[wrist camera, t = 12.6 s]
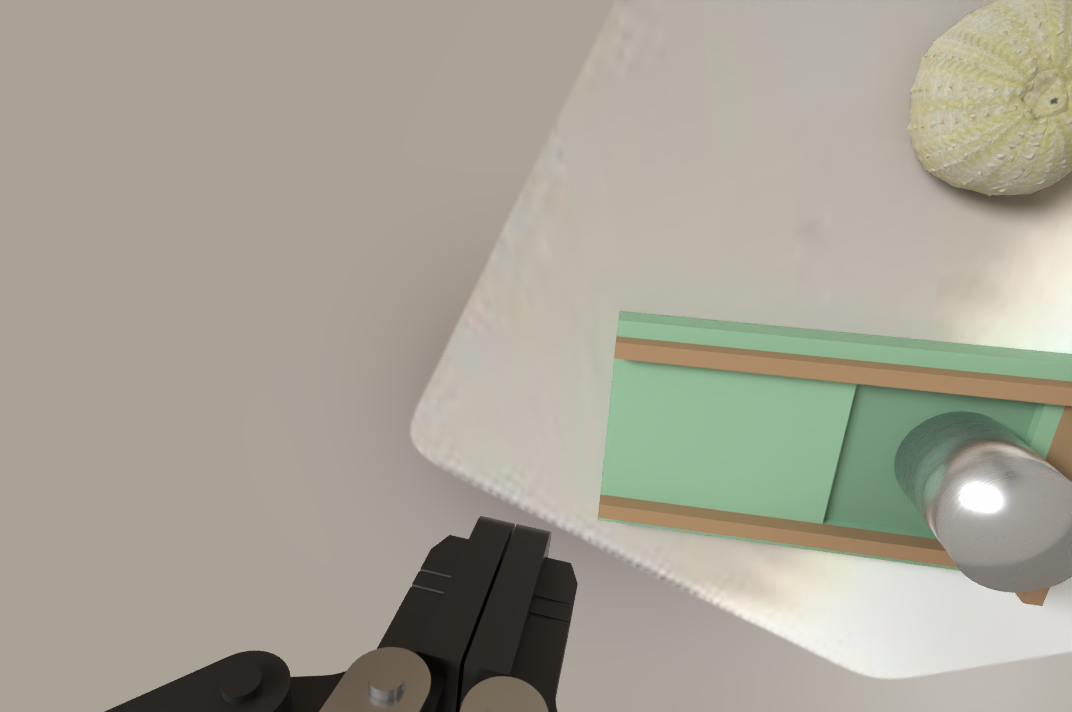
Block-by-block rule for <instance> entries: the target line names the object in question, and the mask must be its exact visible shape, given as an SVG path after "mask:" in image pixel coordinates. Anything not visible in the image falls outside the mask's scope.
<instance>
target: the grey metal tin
mask: <svg viewBox="0 0 1072 712" xmlns="http://www.w3.org/2000/svg"><path fill="white" fill-rule="evenodd" d="M894 471H895V476H896V479H897V482H898V484H899V486H900V487H901V489H902V490H903V491H904V493H905V494H906V496H907V497H908V498H909V500H910V501H911V503H912V504H913V505H914V507H915V508H916V510H917V511H918V512H919V514H920V515H921V516H922V518H923V519H924V521H925V522H926V523H927V525H928V526H929V528H930V529H931V530H932V532H933V533H934V535H935V536H936V537H937V539H938V540H939V542H940V543H941V544H942V546H943V547H944V549H945V550H946V551H947V553H948V554H949V556H950V557H951V558H952V560H953V561H954V562H955V564H956V565H957V567H958V568H959V569H960V570H961V571H962V572H963V573H964V574H965V575H966V576H967V577H968V578H970V579H971V580H972V581H974V582H976V583H978V584H980V585H982V586H985V587H987V588H990V589H994V590H998V591H1004V592H1029V591H1036V590H1041V589H1045V588H1048V587H1051V586H1054V585H1056V584H1059V583H1061V582H1063V581H1065V580H1067V579H1068V578H1070V577H1072V482H1071V481H1070V480H1069V479H1067V478H1066V477H1065V476H1064V475H1062V474H1061V473H1060V472H1059V471H1058V470H1056V469H1055V468H1054V467H1053V466H1052V465H1050V464H1049V463H1048V462H1047V461H1045V460H1044V459H1043V458H1042V457H1041V456H1039V455H1038V454H1037V453H1036V452H1035V451H1033V450H1032V449H1031V448H1030V447H1028V446H1027V445H1026V444H1025V443H1024V442H1022V441H1021V440H1020V439H1019V438H1017V437H1016V436H1015V435H1014V434H1013V433H1011V432H1010V431H1009V430H1008V429H1007V428H1005V427H1004V426H1003V425H1002V424H1000V423H999V422H998V421H996V420H994V419H993V418H991V417H988V416H986V415H983V414H979V413H975V412H964V411H959V412H950V413H944V414H941V415H937V416H935V417H932V418H930V419H928V420H926V421H924V422H922V423H921V424H919V425H918V426H916V427H915V428H914V429H913V430H911V431H910V432H909V433H908V434H907V436H906V437H905V438H904V439H903V441H902V442H901V444H900V446H899V448H898V450H897V452H896V456H895V461H894Z"/></svg>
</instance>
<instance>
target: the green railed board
mask: <svg viewBox="0 0 1072 712" xmlns="http://www.w3.org/2000/svg"><path fill="white" fill-rule="evenodd" d="M959 411H964V412H975V413H979V414H983V415H986V416H988V417H991V418H993V419H994V420H996V421H998V422H999V423H1000V424H1002V425H1003V426H1004V427H1005V428H1007V429H1008V430H1009V431H1010V432H1011V433H1013V434H1014V435H1015V436H1016V437H1017V438H1019V439H1020V440H1021V441H1022V442H1024V443H1025V444H1026V445H1027V446H1028V447H1030V448H1031V449H1032V450H1033V451H1035V452H1036V453H1037V454H1038V455H1039V456H1041V457H1042V458H1043V459H1044V460H1045V461H1047V462H1048V463H1049V464H1050V465H1052V466H1053V467H1054V468H1055V469H1056V470H1058V471H1059V472H1060V473H1061V474H1062V475H1064V476H1065V477H1066V478H1067V479H1069V480H1070V481H1071V482H1072V354H1065V353H1054V352H1044V351H1033V350H1023V349H1012V348H1002V347H991V346H980V345H970V344H959V343H949V342H938V341H928V340H917V339H907V338H896V337H885V336H875V335H864V334H854V333H843V332H833V331H822V330H811V329H801V328H790V327H780V326H769V325H759V324H748V323H737V322H727V321H716V320H706V319H695V318H685V317H674V316H664V315H653V314H642V313H632V312H621V311H620V312H619V319H618V329H617V338H616V346H615V356H614V368H613V378H612V388H611V398H610V407H609V417H608V427H607V437H606V447H605V456H604V466H603V476H602V486H601V495H600V503H599V513H598V520H601V521H608V522H616V523H623V524H630V525H637V526H644V527H652V528H659V529H666V530H673V531H680V532H687V533H695V534H702V535H709V536H716V537H723V538H731V539H738V540H745V541H752V542H759V543H767V544H774V545H781V546H788V547H795V548H802V549H810V550H817V551H824V552H831V553H838V554H846V555H853V556H860V557H867V558H874V559H882V560H889V561H896V562H903V563H910V564H917V565H925V566H932V567H939V568H946V569H953V570H960V569H959V568H958V567H957V565H956V564H955V562H954V561H953V560H952V558H951V557H950V556H949V554H948V553H947V551H946V550H945V549H944V547H943V546H942V544H941V543H940V542H939V540H938V539H937V537H936V536H935V535H934V533H933V532H932V530H931V529H930V528H929V526H928V525H927V523H926V522H925V521H924V519H923V518H922V516H921V515H920V514H919V512H918V511H917V510H916V508H915V507H914V505H913V504H912V503H911V501H910V500H909V498H908V497H907V496H906V494H905V493H904V491H903V490H902V489H901V487H900V486H899V484H898V482H897V479H896V476H895V471H894V461H895V456H896V452H897V450H898V448H899V446H900V444H901V442H902V441H903V439H904V438H905V437H906V436H907V434H908V433H909V432H910V431H911V430H913V429H914V428H915V427H916V426H918V425H919V424H921V423H922V422H924V421H926V420H928V419H930V418H932V417H935V416H937V415H941V414H944V413H950V412H959ZM1049 588H1050V587H1048V588H1045V589H1041V590H1036V591H1029V592H1015V593H1016V595H1017V596H1018V597H1019V598H1020V599H1021V601H1022V602H1023V603H1026V604H1033V605H1040V606H1042V605H1043V603H1044V600H1045V598H1046V595H1047V593H1048V590H1049Z"/></svg>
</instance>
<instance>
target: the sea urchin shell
mask: <svg viewBox="0 0 1072 712" xmlns="http://www.w3.org/2000/svg"><path fill="white" fill-rule="evenodd" d="M910 93H911V105H910V116H909V125H908V127H907V128H908V129H909V131H910V134H909V136H910V137H911V139H912V144H913V148H914V152H915V155H916V157H917V159H918V160H919V161H920V163H921V164H922V165H923V167H924V169H925V171H928V172H930V173H931V174H932V175H934V176H935V177H937V178H940V179H941V180H943V181H945V182H947V183H948V184H949V185H952V186H953V187H958V188H963V189H967V190H972V191H976V192H979V193H983V194H987V195H988V196H992V195H996V196H998V195H1019V194H1028V195H1030V194H1031V193H1034V192H1036V191H1039V190H1042V189H1044V188H1046V187H1049V186H1052V185H1053V184H1054V183H1056V182H1058V181H1059V180H1060V179H1062V178H1063V177H1065V176H1066V175H1067V174H1069V173H1070V172H1071V171H1072V0H996V1H995V2H992V3H990V4H989V5H987V6H984V7H982V8H978V9H977V10H976V11H975V12H973V13H969V14H967V16H965V17H963V18H962V20H961V21H959V22H958V23H957V24H956V25H955V26H953V27H952V28H950V29H949V30H948V31H947V32H945V33H944V34H942V35H941V36H940V37H939V38H938V39H937V40H934V42H933V44H932V46H931V47H930V49H929V50H928V51H927V53H926V54H925V56H924V57H923V58H922V59H921V61H920V66H919V69H918V72H917V76H916V79H915V81H914V84H913V87H912V89H911V91H910Z"/></svg>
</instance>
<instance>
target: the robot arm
mask: <svg viewBox="0 0 1072 712" xmlns="http://www.w3.org/2000/svg"><path fill="white" fill-rule="evenodd" d="M550 540H551V532H549V531H545V530H541V529H536V528H532V527H527V526H523V525H519V524H517V525H516V527H515V524H514V523H509V522H505V521H501V520H496V519H492V518H488V517H483V516H480V517H479V519H478V521H477V523H476V525H475V527H474V529H473V531H472V533H471V536H470V538H469V539H465V538H460V537H456V536H452V535H449V536H448V537H446V538H445V539H444V540H443V541H441V542H440V543H439V544H437V545H436V546H435V547H433V548H432V549H431V550H430V552H429V554H428V556H427V558H426V560H425V562H424V563H423V565H422V567H421V571H420V572H418V574H417V576H416V578H415V580H414V582H413V584H412V587H410V589H409V591H408V593H407V594H406V596H405V598H404V600H403V602H402V604H401V606H400V607H399V610H398V611H397V613H396V615H395V617H394V618H393V620H392V622H391V624H390V626H389V628H388V629H387V631H386V633H385V635H384V637H383V639H382V641H381V642H380V644H379V646H378V647H377V649H376V650H373V651H370V652H368V653H366V654H364V655H362V656H361V657H359V658H358V659H357V660H356V661H355V662H354V663H352V665H351V666H350V667H349V668H348V670H347V671H345V672H342V673H338V674H334V675H325V676H303V677H290V671H289V669H288V667H287V665H286V663H285V662H284V661H283V660H282V659H281V658H280V657H278V656H276V655H274V654H272V653H269V652H264V651H246V652H241V653H237V654H234V655H231V656H229V657H226V658H224V659H222V660H220V661H217V662H215V663H213V664H211V665H208V666H206V667H204V668H202V669H200V670H197V671H195V672H193V673H190V674H188V675H186V676H184V677H182V678H179V679H177V680H175V681H173V682H170V683H168V684H166V685H163V686H161V687H159V688H157V689H155V690H152V691H150V692H148V693H146V694H143V695H141V696H139V697H136V698H134V699H132V700H130V701H127V702H125V703H123V704H121V705H119V706H116V707H114V708H112V709H110V710H107V711H105V712H557V709H556V701H555V699H556V693H557V688H558V683H559V678H560V673H561V668H562V663H563V658H564V653H565V648H566V643H567V638H568V632H569V627H570V622H571V616H572V611H573V606H574V600H575V595H576V589H577V581H576V578H575V574H574V571H573V568H572V565H571V563H568V562H563V561H559V560H555V559H551V558H548V553H549V546H550Z"/></svg>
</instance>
